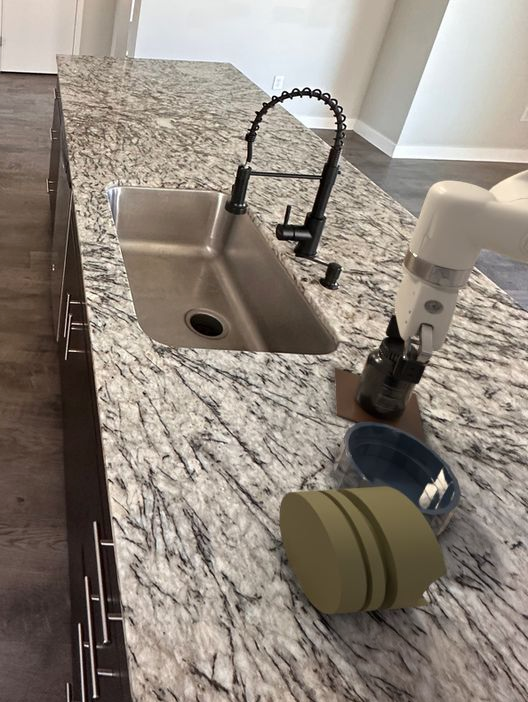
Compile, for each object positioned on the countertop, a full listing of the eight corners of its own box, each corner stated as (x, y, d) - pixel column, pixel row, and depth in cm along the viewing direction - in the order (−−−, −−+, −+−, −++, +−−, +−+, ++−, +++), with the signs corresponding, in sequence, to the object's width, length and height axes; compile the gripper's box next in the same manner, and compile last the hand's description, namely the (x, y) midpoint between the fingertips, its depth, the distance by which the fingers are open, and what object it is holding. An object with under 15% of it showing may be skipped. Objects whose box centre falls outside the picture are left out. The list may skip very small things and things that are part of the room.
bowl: (435, 472, 77) (448, 446, 75) (455, 561, 66) (471, 533, 64) (332, 434, 83) (341, 408, 80) (334, 510, 72) (346, 483, 70)
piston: (425, 627, 60) (462, 567, 55) (323, 636, 59) (353, 575, 54) (358, 523, 70) (385, 465, 66) (271, 529, 69) (292, 470, 65)
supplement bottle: (409, 409, 87) (435, 352, 82) (390, 429, 83) (416, 371, 78) (365, 380, 92) (387, 326, 87) (345, 398, 88) (367, 342, 83)
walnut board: (414, 396, 90) (415, 394, 89) (425, 449, 81) (426, 446, 80) (333, 369, 95) (334, 367, 94) (335, 416, 86) (336, 413, 85)
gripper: (485, 309, 68) (441, 408, 74) (455, 243, 82) (420, 331, 89) (414, 291, 71) (377, 388, 78) (397, 230, 85) (367, 316, 92)
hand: (400, 357), depth 83 cm, fingers open, 9 cm apart
